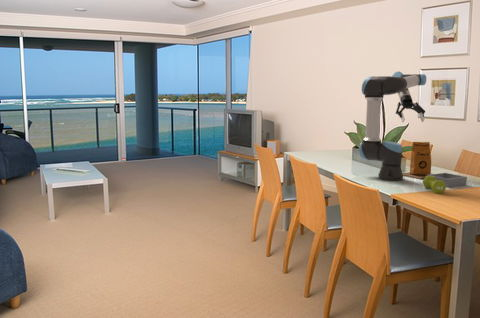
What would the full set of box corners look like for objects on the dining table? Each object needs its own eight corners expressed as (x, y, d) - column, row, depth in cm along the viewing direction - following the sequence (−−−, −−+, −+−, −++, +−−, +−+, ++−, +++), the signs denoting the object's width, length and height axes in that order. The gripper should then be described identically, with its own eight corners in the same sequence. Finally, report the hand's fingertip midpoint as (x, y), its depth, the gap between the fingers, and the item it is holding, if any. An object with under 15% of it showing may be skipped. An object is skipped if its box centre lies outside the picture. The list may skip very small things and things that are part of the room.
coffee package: (431, 176, 286) (434, 142, 282) (411, 175, 288) (413, 142, 284) (427, 173, 295) (430, 141, 292) (408, 172, 297) (410, 140, 294)
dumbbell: (421, 187, 258) (422, 175, 257) (435, 187, 258) (436, 175, 257) (431, 193, 242) (432, 180, 241) (446, 194, 241) (447, 181, 240)
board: (420, 179, 280) (420, 178, 280) (398, 174, 296) (398, 173, 296) (441, 177, 289) (442, 175, 289) (419, 172, 305) (419, 171, 305)
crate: (447, 187, 257) (448, 179, 256) (426, 182, 270) (426, 174, 269) (466, 185, 265) (466, 176, 264) (444, 180, 278) (445, 172, 277)
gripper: (420, 102, 315) (429, 124, 303) (386, 101, 314) (393, 124, 302) (424, 94, 309) (433, 117, 297) (390, 94, 308) (397, 117, 296)
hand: (413, 120), depth 299 cm, fingers open, 13 cm apart
